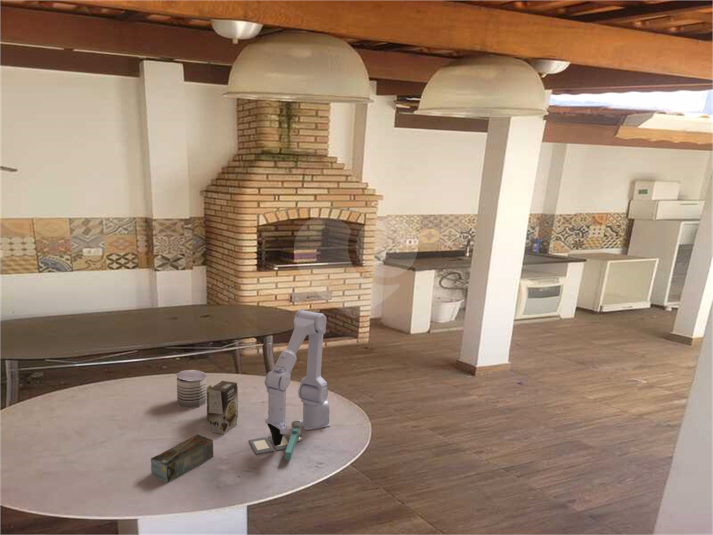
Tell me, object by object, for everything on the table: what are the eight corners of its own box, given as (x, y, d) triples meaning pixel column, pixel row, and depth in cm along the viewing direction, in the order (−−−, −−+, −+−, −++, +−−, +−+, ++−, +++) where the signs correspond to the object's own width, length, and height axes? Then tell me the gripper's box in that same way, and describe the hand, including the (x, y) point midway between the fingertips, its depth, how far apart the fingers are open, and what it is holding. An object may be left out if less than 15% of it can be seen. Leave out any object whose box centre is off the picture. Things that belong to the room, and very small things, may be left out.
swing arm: (292, 431, 197) (292, 420, 196) (302, 432, 197) (302, 421, 196) (282, 459, 179) (282, 447, 178) (293, 459, 178) (293, 447, 178)
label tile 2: (284, 434, 198) (284, 433, 198) (293, 447, 189) (293, 446, 189) (268, 437, 195) (268, 436, 195) (276, 451, 186) (276, 449, 186)
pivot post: (300, 434, 199) (301, 422, 198) (305, 440, 194) (305, 428, 194) (287, 436, 197) (287, 424, 196) (291, 442, 192) (292, 431, 191)
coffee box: (224, 434, 196) (224, 391, 193) (208, 431, 198) (208, 388, 195) (238, 423, 205) (237, 382, 202) (222, 420, 207) (222, 379, 204)
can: (184, 395, 228) (184, 367, 226) (211, 398, 226) (210, 370, 224) (171, 407, 217) (171, 378, 215) (199, 409, 215) (199, 380, 213)
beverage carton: (149, 475, 170) (149, 455, 169) (198, 450, 186) (197, 431, 185) (167, 484, 166) (166, 464, 165) (215, 457, 182) (214, 438, 181)
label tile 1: (265, 438, 195) (265, 436, 195) (273, 451, 186) (273, 450, 186) (248, 441, 192) (248, 439, 192) (256, 455, 183) (256, 453, 183)
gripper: (259, 399, 188) (259, 436, 191) (271, 417, 175) (271, 457, 178) (279, 396, 191) (279, 433, 194) (293, 414, 178) (292, 452, 181)
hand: (276, 444), depth 186 cm, fingers closed
